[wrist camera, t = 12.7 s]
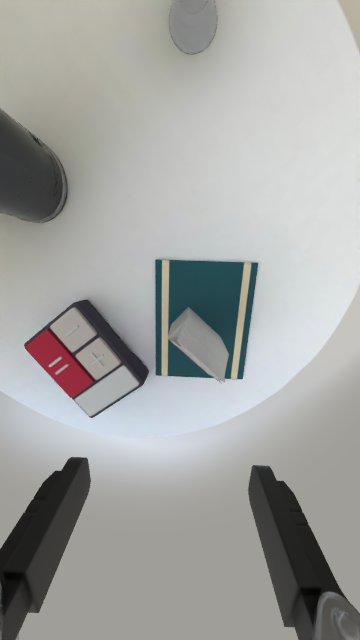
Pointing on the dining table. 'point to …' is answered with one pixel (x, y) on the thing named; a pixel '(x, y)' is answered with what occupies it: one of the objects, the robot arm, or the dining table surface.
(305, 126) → the dining table surface
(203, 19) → the chalice
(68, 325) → the calculator
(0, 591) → the robot arm
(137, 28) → the dining table surface
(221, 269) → the cloth
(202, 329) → the white gable top carton
